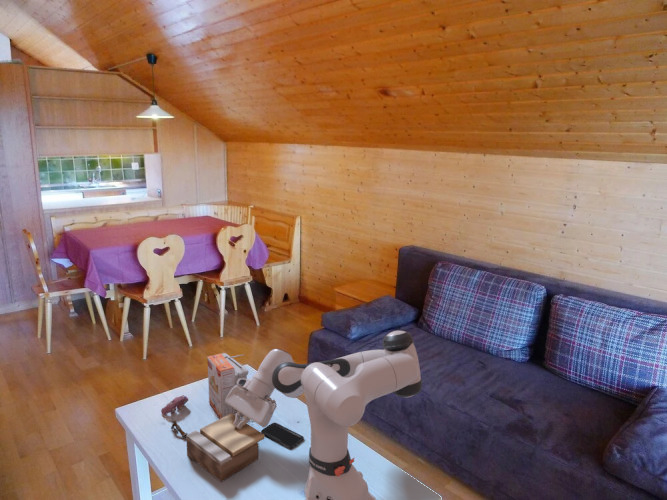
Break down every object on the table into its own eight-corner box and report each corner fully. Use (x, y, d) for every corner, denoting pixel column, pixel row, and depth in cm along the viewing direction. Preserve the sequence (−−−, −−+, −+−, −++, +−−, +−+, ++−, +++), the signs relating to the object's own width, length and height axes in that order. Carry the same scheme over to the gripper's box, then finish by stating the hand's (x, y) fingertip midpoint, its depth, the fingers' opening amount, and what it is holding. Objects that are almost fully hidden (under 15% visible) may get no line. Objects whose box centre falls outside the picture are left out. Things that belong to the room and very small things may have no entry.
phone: (274, 421, 182) (305, 437, 173) (274, 424, 182) (305, 440, 173) (259, 431, 175) (290, 448, 167) (259, 434, 176) (290, 451, 167)
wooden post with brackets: (172, 425, 177) (174, 417, 175) (185, 441, 174) (187, 433, 172) (168, 427, 176) (170, 419, 174) (180, 443, 172) (183, 435, 170)
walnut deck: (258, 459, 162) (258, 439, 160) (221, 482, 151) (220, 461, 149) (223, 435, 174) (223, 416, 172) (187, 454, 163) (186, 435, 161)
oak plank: (264, 438, 163) (264, 434, 163) (233, 456, 153) (233, 452, 153) (231, 417, 174) (231, 413, 174) (200, 432, 165) (200, 429, 164)
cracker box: (208, 403, 193) (206, 355, 188) (222, 399, 196) (221, 352, 191) (220, 421, 182) (219, 370, 177) (236, 417, 185) (235, 367, 180)
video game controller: (166, 420, 184) (171, 408, 181) (159, 412, 185) (164, 400, 182) (186, 408, 192) (191, 396, 189) (179, 400, 194) (184, 389, 190)
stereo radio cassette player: (208, 385, 207) (206, 341, 202) (225, 379, 212) (224, 337, 208) (231, 406, 192) (231, 360, 187) (250, 400, 197) (249, 354, 192)
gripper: (283, 405, 165) (261, 443, 161) (245, 383, 178) (224, 418, 174) (273, 399, 161) (250, 437, 156) (235, 377, 174) (213, 412, 169)
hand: (236, 427), depth 165 cm, fingers closed, pressing on oak plank
